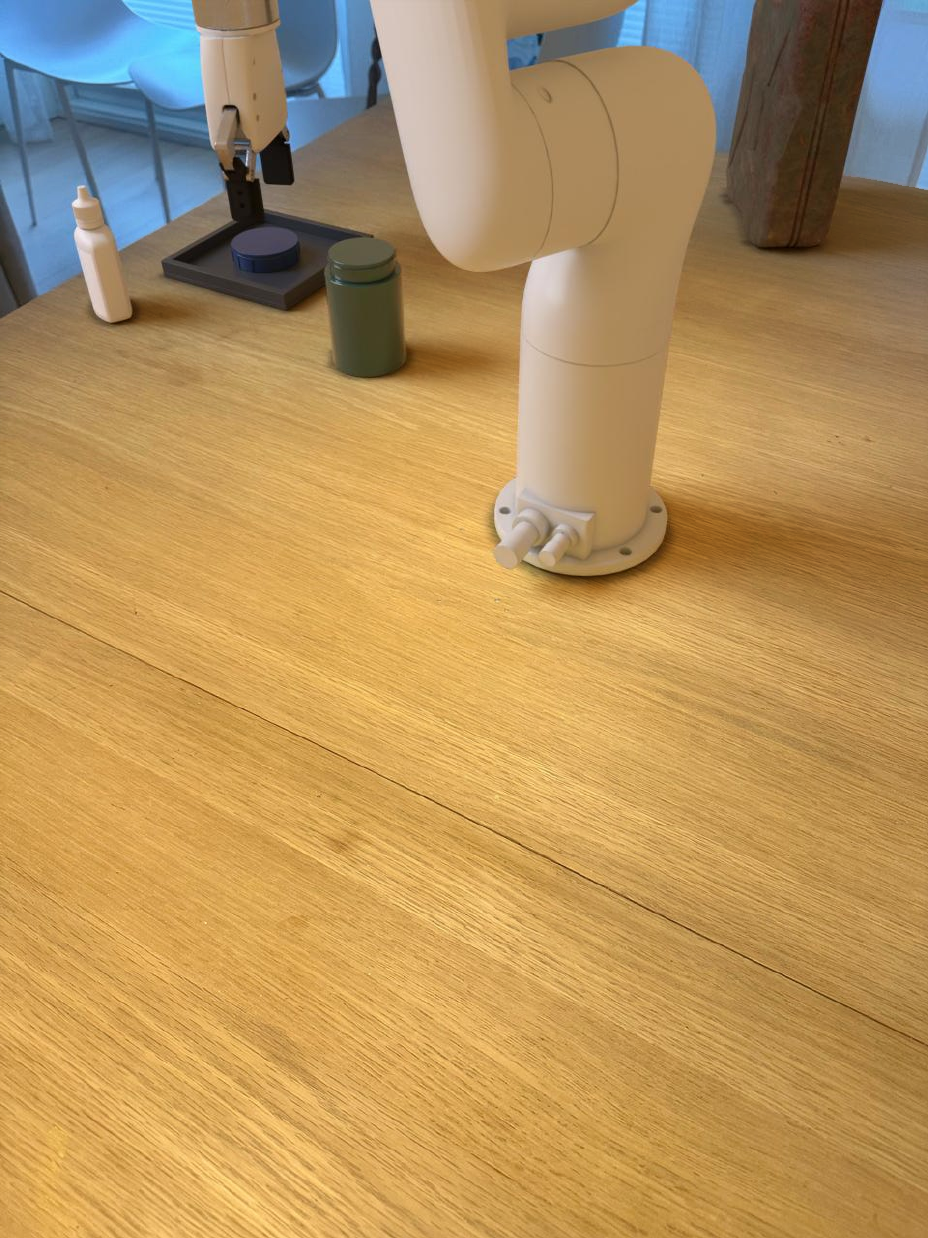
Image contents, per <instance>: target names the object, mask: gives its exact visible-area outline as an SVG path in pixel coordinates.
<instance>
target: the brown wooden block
mask: <svg viewBox="0 0 928 1238" xmlns="http://www.w3.org/2000/svg"><path fill="white" fill-rule="evenodd" d="M883 2H884V0H755V1H754V4H753V8H752V14H751V20H750V26H749V33H748V40H747V45H746V46H747V47H746V55H745V56H746V58H745V68H744V69H743V74H742V77H741V83H740V84H741V85H740V90H739V95H738V96H739V97H738V102H737V108H736V112H735V113H736V114H735V119H734V124H733V131H732V136H731V140H730V141H731V142H730V146H729V153H728V159H727V163H726V164H727V165H726V169H725V170H726V171H725V179H726V181H725V182H726V194H727V197H728V198H729V200H730V202H731V203H732V204H733V205H734V206H735V208H736V209H737V210H738V211H739V212H740V213H741V214H742V224H743V228H744V230H745V232H746V235H747V237H748V239H749V241H750V242H751V244H753V245H754V246H755V247H758V248H786V247H787V248H791V247H792V248H793V247H794V248H810V247H814V246H817V245H821V243H822V242H823V240H824V239H825V237H826V236H827V235H828V234H829V232H830V228H831V223H832V220H833V216H834V212H835V208H836V204H837V200H838V197H839V191H840V189H841V188H840V187H841V183H842V179H843V174H844V170H845V165H846V161H847V157H848V152H849V147H850V143H851V138H852V134H853V130H854V126H855V125H854V124H855V121H856V120H855V119H856V115H857V112H858V111H857V110H858V106H859V102H860V98H861V94H862V90H863V86H864V81H865V77H866V73H867V70H868V66H869V61H870V57H871V53H872V49H873V45H874V40H875V36H876V32H877V28H878V24H879V20H880V16H881V10H882V7H883Z"/></svg>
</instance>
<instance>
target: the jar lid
mask: <svg viewBox="0 0 928 1238" xmlns="http://www.w3.org/2000/svg"><path fill="white" fill-rule="evenodd" d="M231 247H232V249H231V252H232V258H233V261H234V263H235V265H236V266H237V267H239V268H240V269H242V270H245V271H249V272H255V273H269V272H276V271H281V270H284V269H287V268H289V267H291V266H293V265H294V264H296V263H297V262H298V260H299V258H300V254H301V253H300V245H299V242H298V237H297V235H296V234H295V233H294V232H292V231H290V230H287V229H283V228H276V227H263V228H256V229H251V230H247V231H245V232H242V233H240V234H238V235H237V236H235V237H234V238H233V240H232V242H231Z"/></svg>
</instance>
